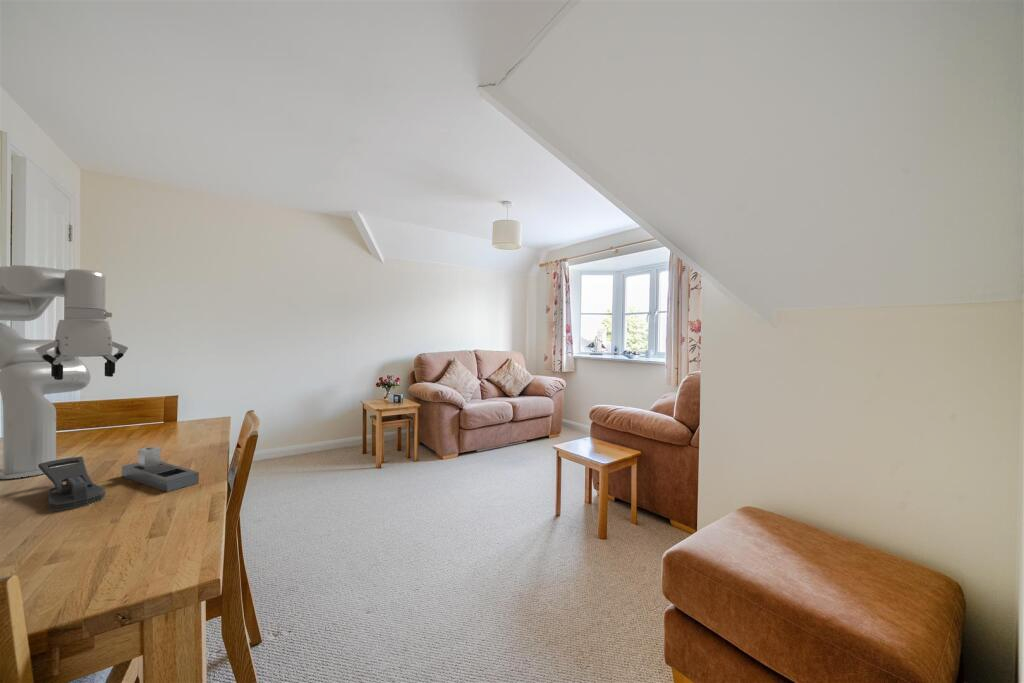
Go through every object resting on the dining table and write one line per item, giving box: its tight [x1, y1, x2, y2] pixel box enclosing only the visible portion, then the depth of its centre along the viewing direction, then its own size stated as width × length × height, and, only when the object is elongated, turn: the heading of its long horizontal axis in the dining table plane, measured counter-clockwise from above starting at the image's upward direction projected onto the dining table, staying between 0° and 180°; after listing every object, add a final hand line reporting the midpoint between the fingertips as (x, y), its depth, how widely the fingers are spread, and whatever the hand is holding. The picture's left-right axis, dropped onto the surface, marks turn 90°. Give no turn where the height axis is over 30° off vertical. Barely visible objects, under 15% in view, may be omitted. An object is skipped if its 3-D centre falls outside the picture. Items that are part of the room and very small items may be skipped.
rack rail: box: [121, 460, 200, 493], centre depth 107 cm, size 24×7×3 cm, turn 65°
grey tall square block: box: [137, 445, 162, 470], centre depth 109 cm, size 4×4×8 cm
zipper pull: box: [38, 456, 106, 512], centre depth 96 cm, size 9×7×25 cm
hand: (84, 377), depth 105 cm, fingers open, 9 cm apart
